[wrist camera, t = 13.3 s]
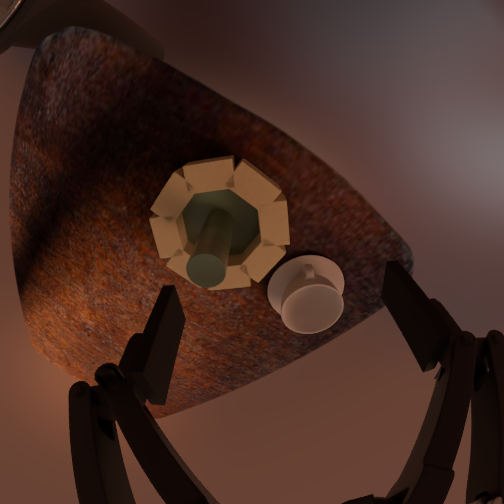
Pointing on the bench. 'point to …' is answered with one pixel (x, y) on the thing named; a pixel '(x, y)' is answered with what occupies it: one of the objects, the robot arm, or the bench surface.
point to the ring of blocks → (244, 185)
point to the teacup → (307, 293)
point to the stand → (217, 233)
